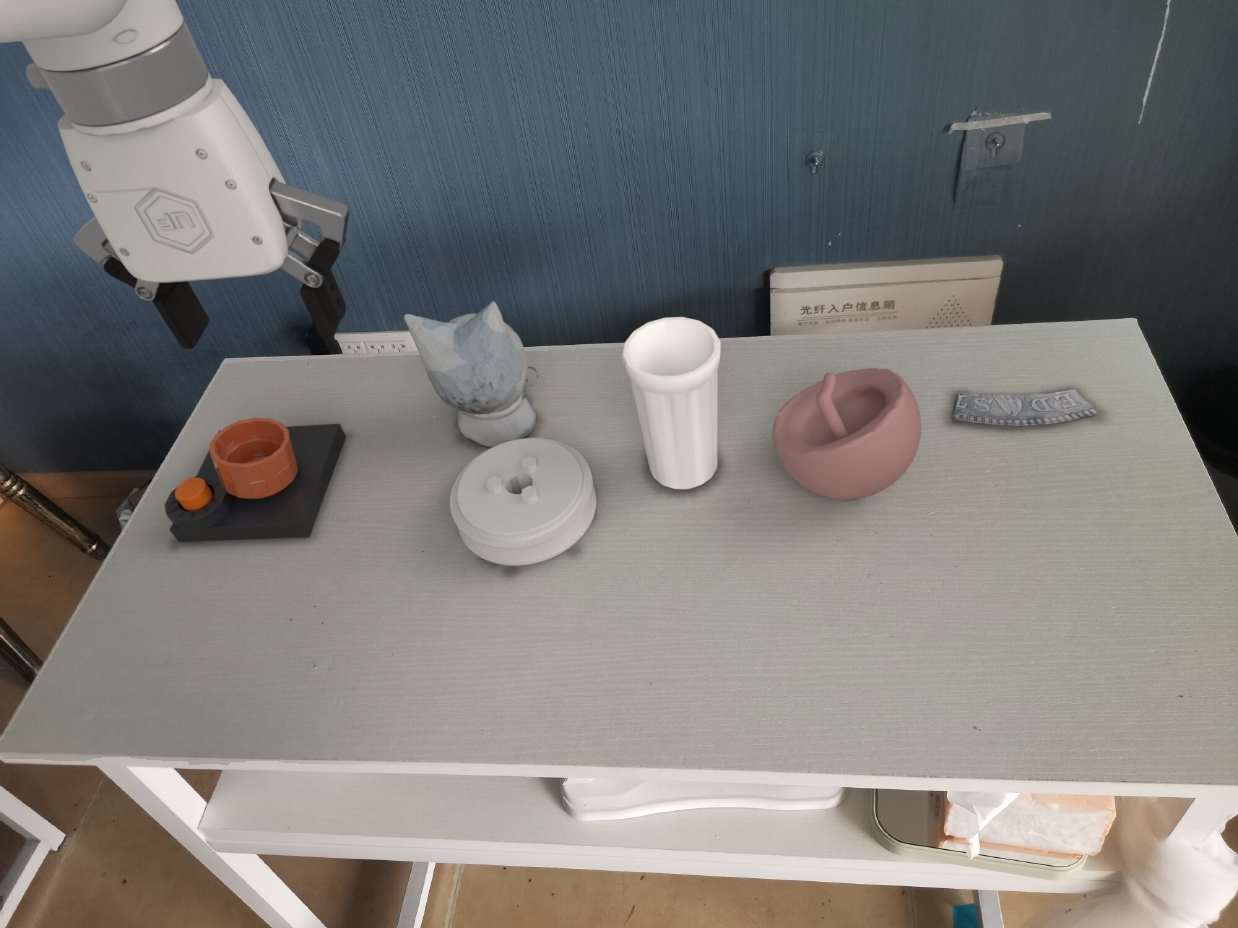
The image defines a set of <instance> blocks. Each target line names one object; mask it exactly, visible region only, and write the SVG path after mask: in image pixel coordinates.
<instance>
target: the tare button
mask: <svg viewBox="0 0 1238 928" xmlns="http://www.w3.org/2000/svg"><path fill="white" fill-rule="evenodd" d="M176 488H177V489H176ZM176 488H175V489H176V491H175V497H176V498H177V500H178V501H179V502H180V504H181V505H182V506H183V508H184V509H186V510H189V511H194V510H197V509H199V508H202V507H204V506H205V505H206V504H207V503H208V502H209V501H210V500H211V499H212V491H211V489H210V488H209V487H208V485H207V484H206V482H205V481H204V480H203V479H201V478H193V477H191V478H188V479H185V480H184V481H182V482H181V483H180V484H179V485H178V486H177V487H176Z"/></svg>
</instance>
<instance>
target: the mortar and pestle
mask: <svg viewBox="0 0 1238 928" xmlns="http://www.w3.org/2000/svg"><path fill="white" fill-rule="evenodd" d="M921 418H922V417H921V412H920V408H919V404H918V401H917V400H916V397H915V395H914V393H913V391H912V390H911V388H910V387H909V385H908V384H907V382H906V381H905V380H904V378H903V377H901V376H900V375H899V374H898V373H896V372H894V371H892V370H890V369H888V368H877V367H875V368H874V367H868V368H858V369H853V370H848V371H845V372H840V373H837V374H835V373H833V372H827V373H825V374H824V377H823V379H822V380H819V381H818V382H816V383H814V384H812V385H810V386H808V387H806V388H805V389H804V390H802V391H800V392H798V393H797V394H796V395H794V396H793V397H792V398H791V399H789V400H788V401H786V403H784V405H783V406H782V407H781V408H780V409H779V410H778V412H777V414H776V416H775V418H774V422H773V426H772V442H773V446H774V449H775V452H776V454H777V456H778V458H779V460H780V462H781V465H782V466H783V467H784V469H785V470H786V471H787V473H789V475H790V476H791V477H792V478H793V479H794V480H795V481H796V482H797V483H799V484H800V485H801V486H802V487H804V488H805V489H807V490H808V491H810V492H812V493H814V494H817V495H818V496H822V497H825V498H829V499H834V500H843V501H844V500H845V501H846V500H858V499H865V498H867V497H870V496H873V495H876V494H878V493H880V492H882V491H884V490H885V489H887V488H889V487H891V486H892V485H893V484H894V483H896V482H897V481H898V480H899V479H900V478H901V477H902V476H903V475H904V474H905V473H906V472H907V470H908V469H909V467H910V466H911V464H912V463H913V462H914V459H915V457H916V454H917V452H918V449H919V445H920V442H921V436H922V419H921Z"/></svg>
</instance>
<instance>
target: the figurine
mask: <svg viewBox="0 0 1238 928" xmlns="http://www.w3.org/2000/svg"><path fill="white" fill-rule="evenodd" d="M403 319H404V321H405V324H406V326H407V329H408V332H409V334H410V336H411V338H412V340H413V342H414V344H415V348H416V349H417V351H418V354H419V356H420V358H421V361H422V364H423V366H424V369H425V371H426V374H427V377H428V380H429V382H430V384H431V386H432V387H433V389H434V390H435V391H434V392H436V394H437V397H439V398H440V399H441V401H442V402H444V403H445V404H446V405H448V406H450V407H451V408H453V409H457V410H458V413H457V427H458V429H459V430H460V433H461V434H462V436H463V437H464V438H465V439H466V440H469V441H473V442H475V443H477V444H479V446H483V447H484V448H485V447H486V448H492V447H494V446H497V445H499V444H502V443H505V442H508V441H512V440H516V439H523V438H528V436H529V435H531V434H532V433H533V432H534V430H535V427H536V425H537V414H536V412H535V410H534V409H533V407H532V406H531V404H530V403H529V401H528V399H527V397H526V394H527V388H528V387H532V386H534V385H535V384H536V383H537V382H538V381H539V379H540V374H539V371H538V370H537V368H536V367H534V366H530V365H529V363H528V357H527V352H526V350H525V347H524V345H523V342H522V340H521V338H520V337H519V335H518V333H517V332H516V331H515V330H514V329H513V328H512V327H511V326H510V325H509V324H508V323H506V322H505V321H504V319H503V316H502V313H501V311H500V309H499V306H498V305H497V303H496V302H495V301H494V300H492V301H490V303H489V304H488V305H486V306H485V307H484V308H482V309H481V310H479V312H477V313H466V314H464V315H460V316H457V317H454V318H453V319H451V320H449V321H448V322H444V321H441V320H440V321H439V320H436V319H431V318H427V317H422V316H419V315H418V316H416V315H413V314H411V313H406V314H404V315H403ZM528 369H531V370H533V371H534V372H535V373H536V380H535V382H533V383H530V384H527V383H528V382H529V378H527V377H528Z"/></svg>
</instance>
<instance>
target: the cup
mask: <svg viewBox="0 0 1238 928" xmlns="http://www.w3.org/2000/svg"><path fill="white" fill-rule="evenodd" d="M721 347H722V341H721V340H720V338H719V337H718V334H717V333H716V331H715V329H713V328H712V327H710V326H709V325H707V324H705V322H702V321H701V320H697V319H693V318H688V317H685V316H675V317H674V316H673V317H672V316H671V317H663V318H659V319H656V320H651V321H648V322H646V323H645V324H643V325H641V326H640V327H638V328H636V329H635V330H634V331H633V332H632V333H631V334H630V335H629V337H628V338H627V339H626V341H625V342H624V343H623V347H622V352H621V353H622V355H621V360H622V363H623V366H624V369H625V370H626V372H627V373H626V374H627V375H628V378H629V383H630V387H631V392H632V396H633V400H634V406H635V409H636V414H637V418H638V422H639V428H640V432H641V437H642V441H643V445H644V449H645V454H646V459H647V463H648V467H649V471H650V473H651V475H652V477H653V479H655V480H656V482H658V483H659V484H660V485H662V486H664V487H667V488H670V489H674V490H690V489H694V488H696V487H700V486H702V485H703V484H705V483H706V482H708V481H709V480H710V479H712V477H713V476H714V474H715V473H716V471H717V469H718V428H719V427H718V423H719V422H718V420H719V419H718V415H719V411H718V409H719V407H718V404H719V402H718V400H719V397H718V396H719V395H718V393H719V392H718V391H719V388H718V386H719V383H718V381H719V376H718V375H719V371H718V370H719V369H718V368H719V366H720V362H721V353H722V352H721V351H722V350H721V349H722V348H721Z"/></svg>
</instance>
